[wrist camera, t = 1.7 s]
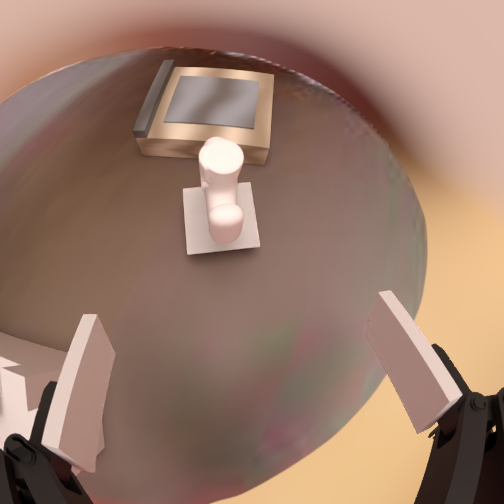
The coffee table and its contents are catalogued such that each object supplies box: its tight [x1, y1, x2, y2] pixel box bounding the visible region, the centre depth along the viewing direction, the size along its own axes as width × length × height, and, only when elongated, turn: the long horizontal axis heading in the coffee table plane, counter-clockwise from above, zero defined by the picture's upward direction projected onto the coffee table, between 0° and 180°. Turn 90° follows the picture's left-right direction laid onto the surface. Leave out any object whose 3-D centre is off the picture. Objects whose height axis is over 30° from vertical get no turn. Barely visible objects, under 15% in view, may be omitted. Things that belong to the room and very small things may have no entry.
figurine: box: [183, 137, 260, 255], centre depth 25 cm, size 7×9×15 cm
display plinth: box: [133, 60, 274, 166], centre depth 33 cm, size 16×14×6 cm
